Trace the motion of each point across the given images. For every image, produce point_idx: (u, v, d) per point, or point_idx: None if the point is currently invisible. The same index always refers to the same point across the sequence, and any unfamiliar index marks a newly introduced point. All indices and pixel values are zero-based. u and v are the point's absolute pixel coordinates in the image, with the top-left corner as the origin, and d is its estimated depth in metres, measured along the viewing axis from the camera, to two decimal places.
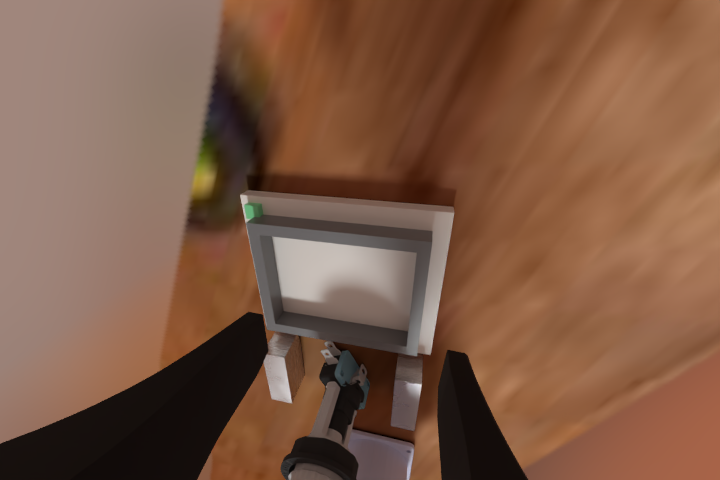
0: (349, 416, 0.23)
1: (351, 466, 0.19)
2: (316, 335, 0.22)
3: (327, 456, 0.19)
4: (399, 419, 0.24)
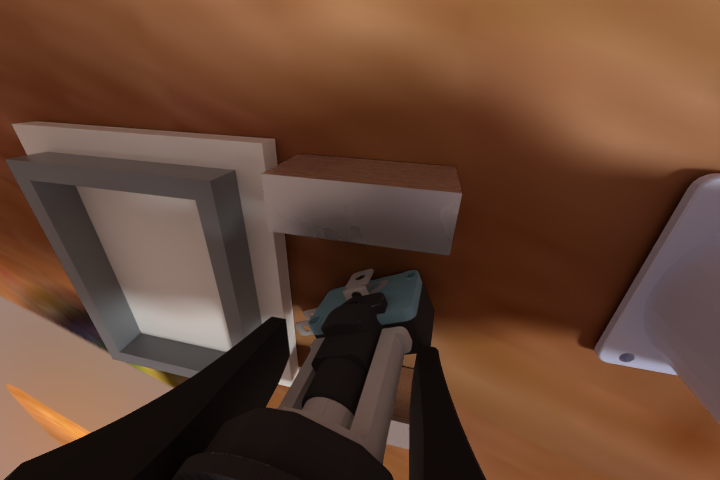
0: (340, 351, 0.09)
1: (235, 437, 0.06)
2: (238, 337, 0.14)
3: None
4: (412, 230, 0.09)
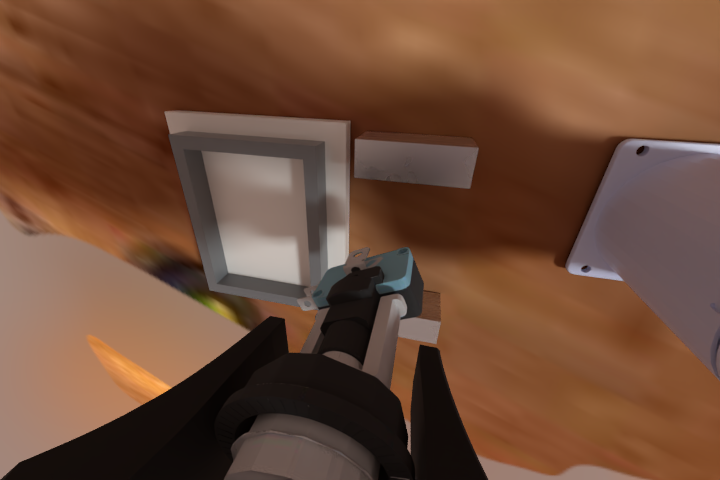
0: (346, 315, 0.11)
1: (272, 374, 0.07)
2: (315, 262, 0.20)
3: None
4: (447, 173, 0.15)
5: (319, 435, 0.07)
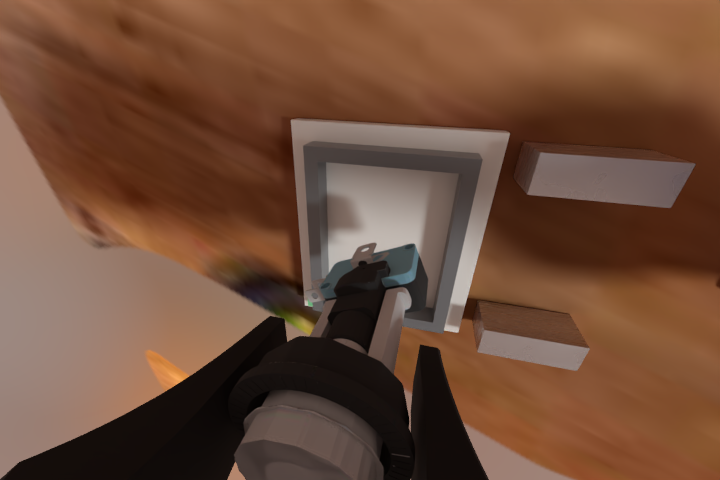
0: (353, 305, 0.11)
1: (283, 355, 0.08)
2: (448, 283, 0.18)
3: None
4: (647, 190, 0.13)
5: (326, 411, 0.07)
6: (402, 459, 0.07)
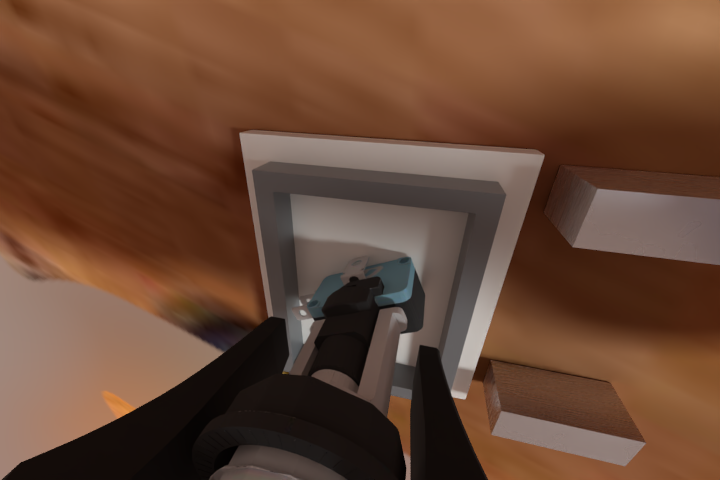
0: (342, 329, 0.10)
1: (257, 399, 0.07)
2: (454, 351, 0.14)
3: None
4: None
5: (306, 472, 0.06)
6: None
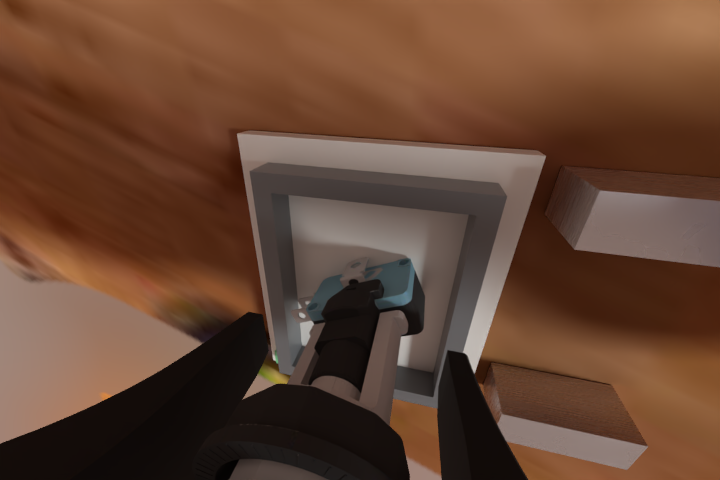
0: (343, 334, 0.10)
1: (258, 411, 0.07)
2: None
3: None
4: None
5: None
6: None
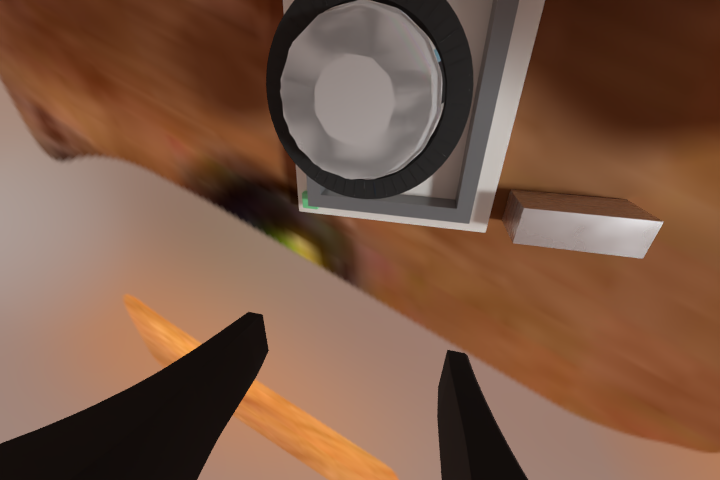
0: None
1: None
2: (479, 145, 0.14)
3: None
4: None
5: None
6: (460, 84, 0.07)
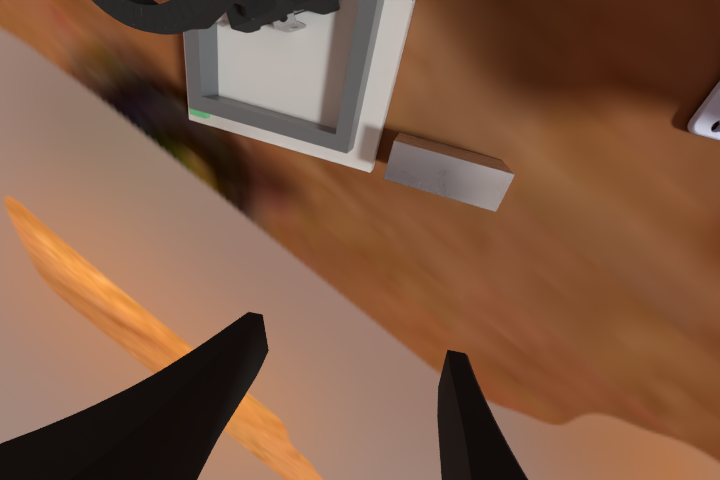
0: None
1: None
2: (357, 64, 0.14)
3: None
4: None
5: None
6: None
